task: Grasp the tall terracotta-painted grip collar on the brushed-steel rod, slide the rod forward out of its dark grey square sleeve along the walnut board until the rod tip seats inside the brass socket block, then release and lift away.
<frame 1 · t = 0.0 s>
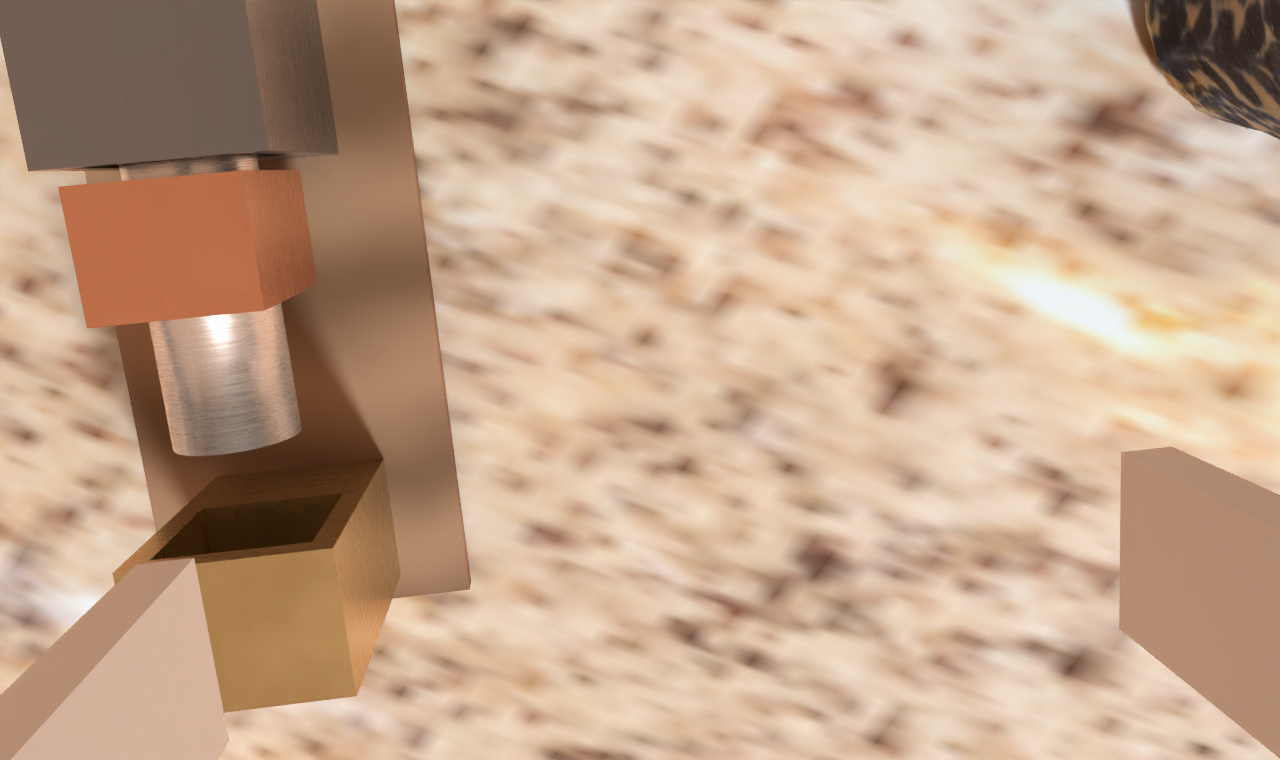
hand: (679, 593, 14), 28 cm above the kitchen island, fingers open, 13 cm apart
rod: (192, 177, 32), point 8 cm above the kitchen island, slide at 0.0 cm
board: (273, 266, 40), on the kitchen island
sleeve: (236, 39, 39), resting on board
socket: (314, 519, 42), resting on board
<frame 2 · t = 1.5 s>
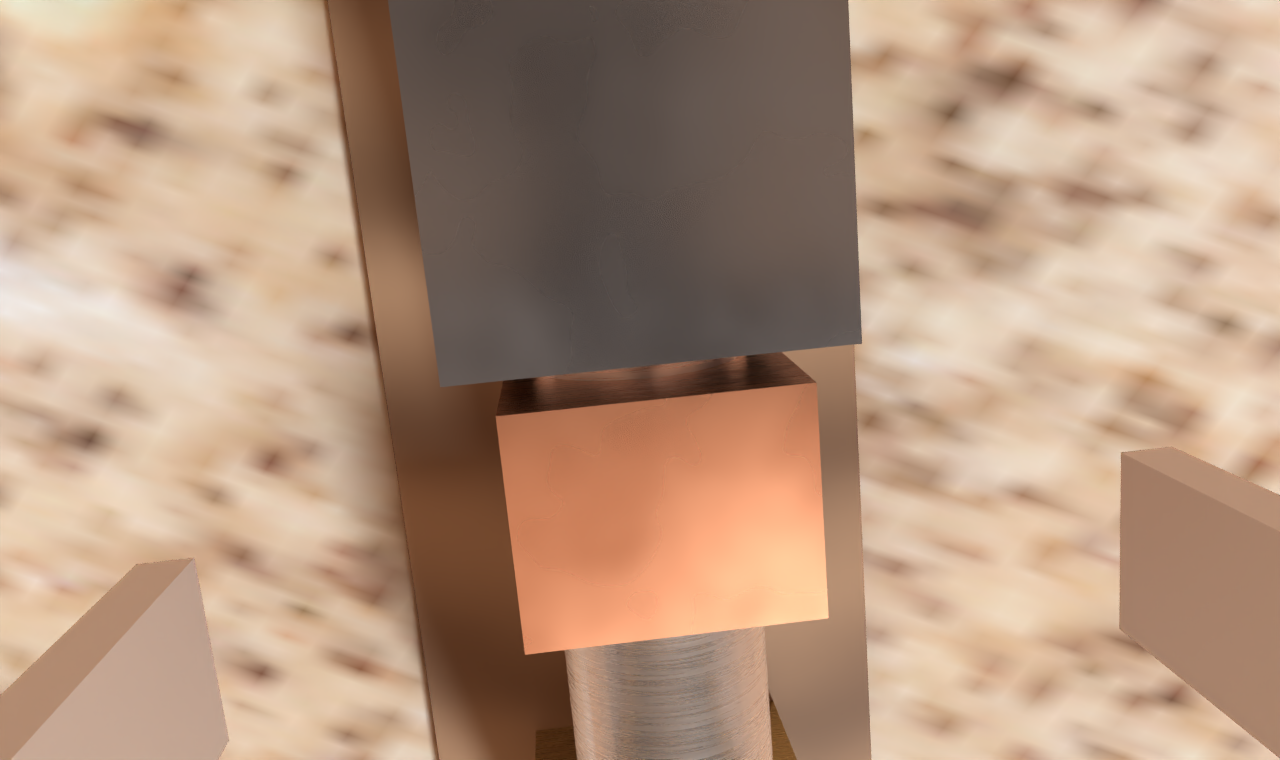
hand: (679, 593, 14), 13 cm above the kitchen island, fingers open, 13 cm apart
rod: (638, 355, 19), point 8 cm above the kitchen island, slide at 0.0 cm
board: (627, 429, 27), on the kitchen island
sleeve: (596, 99, 25), resting on board
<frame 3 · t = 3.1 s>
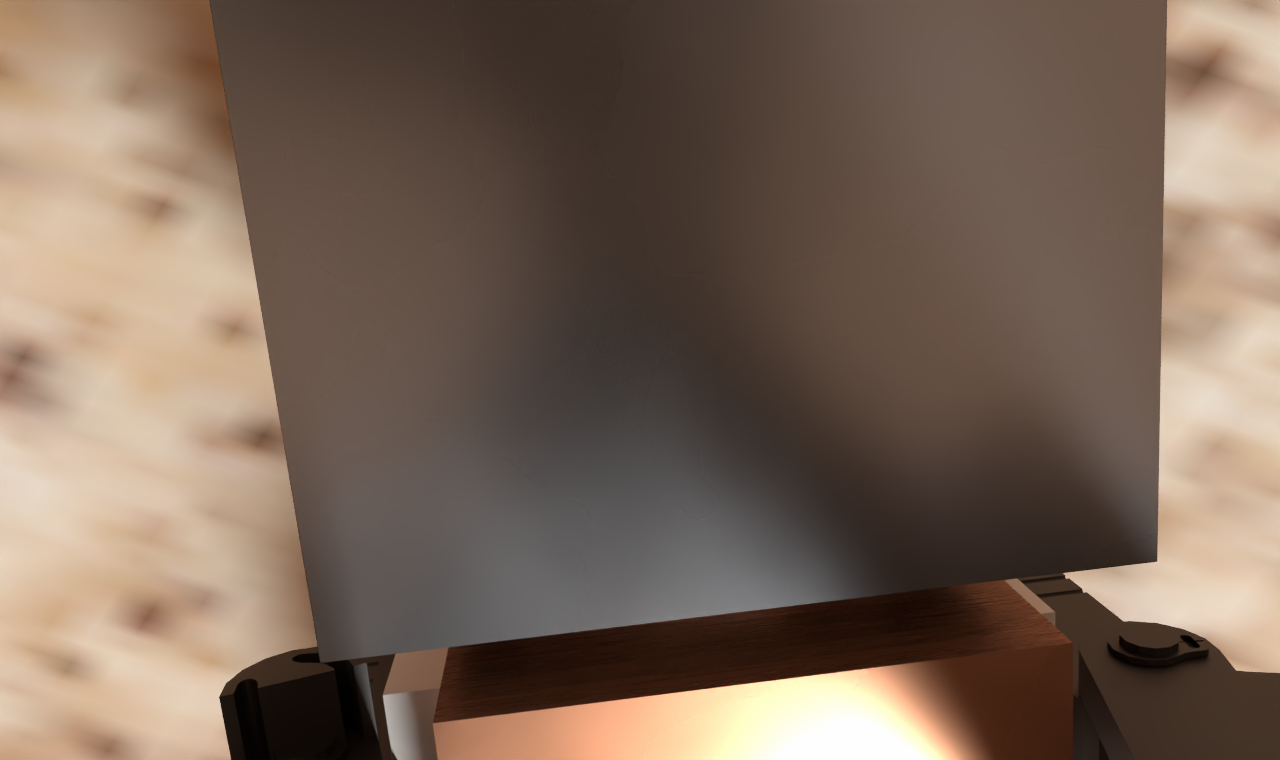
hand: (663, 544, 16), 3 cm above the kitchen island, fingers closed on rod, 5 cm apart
rod: (696, 527, 11), point 8 cm above the kitchen island, slide at 0.0 cm, touching gripper
sleeve: (612, 101, 18), resting on board
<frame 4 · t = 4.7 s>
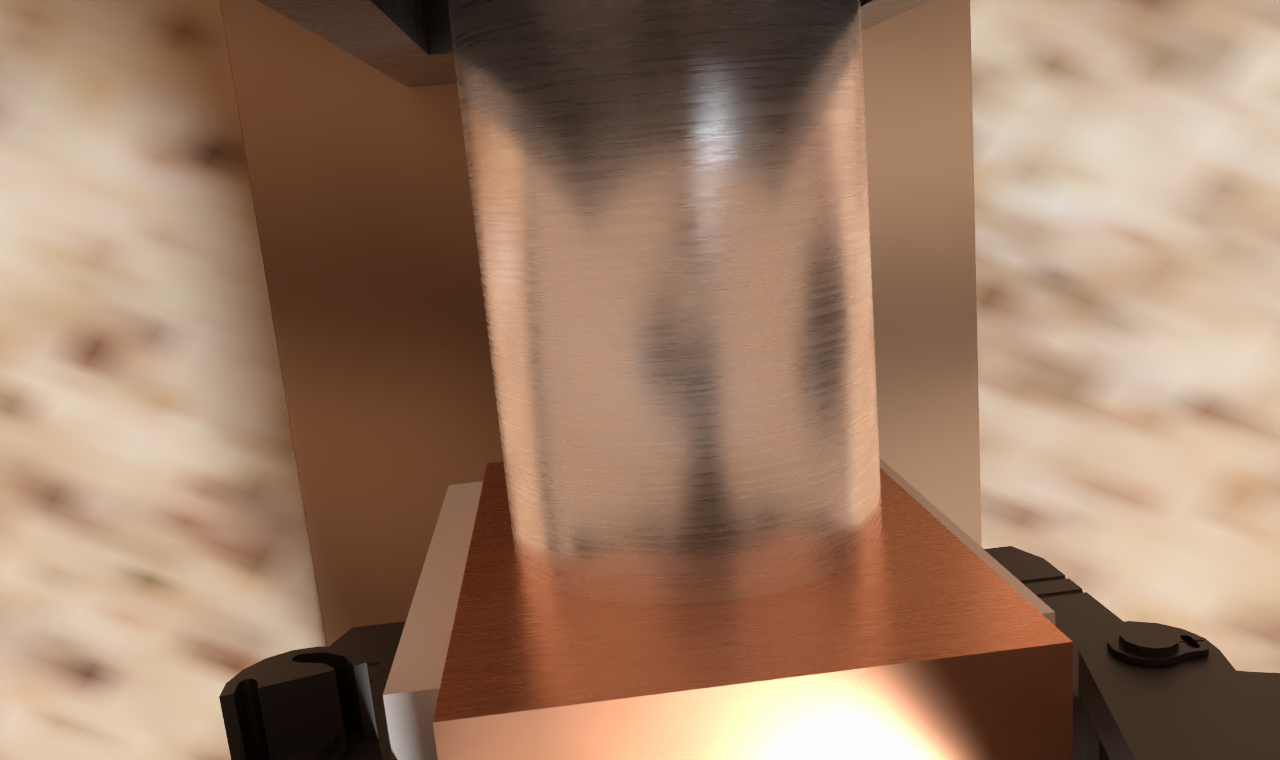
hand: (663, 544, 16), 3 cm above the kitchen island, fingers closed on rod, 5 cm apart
rod: (695, 526, 11), point 8 cm above the kitchen island, slide at 5.0 cm, touching gripper
board: (631, 306, 18), on the kitchen island
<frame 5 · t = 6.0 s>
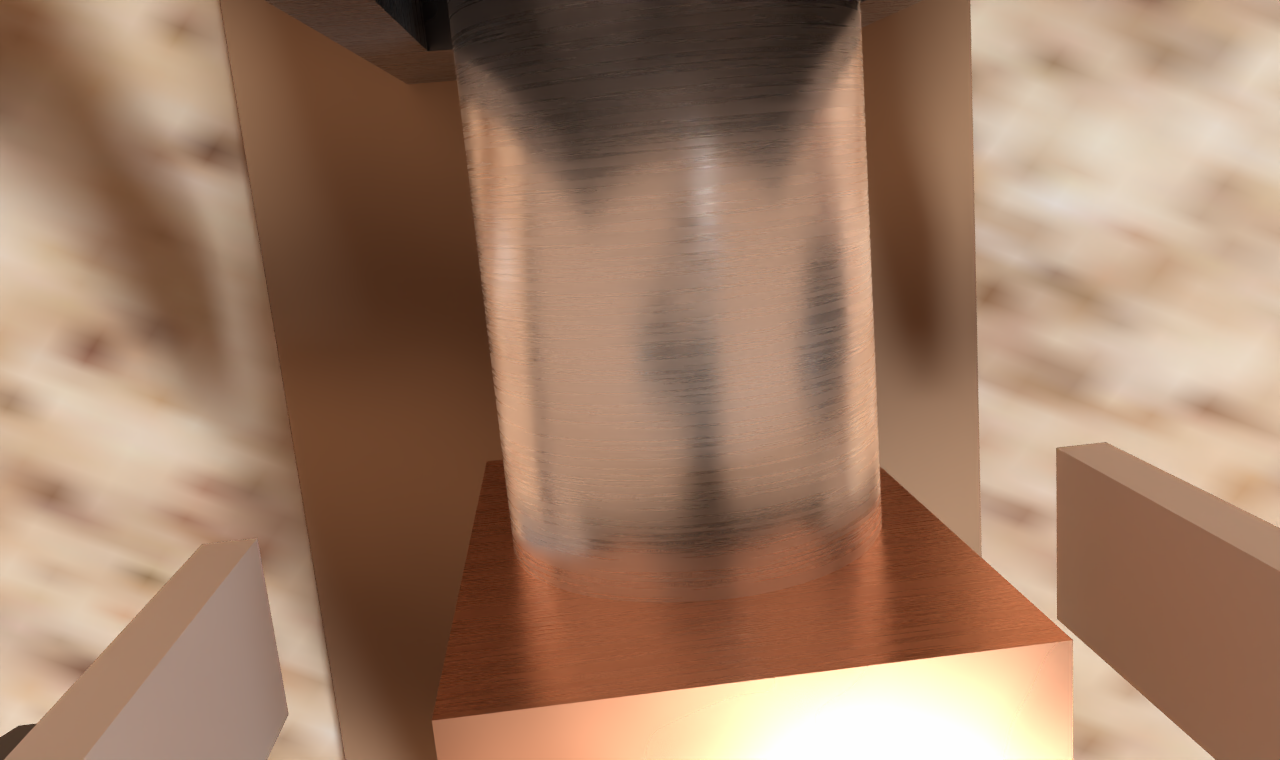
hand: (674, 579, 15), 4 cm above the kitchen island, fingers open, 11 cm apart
rod: (695, 525, 11), point 8 cm above the kitchen island, slide at 5.0 cm
board: (630, 304, 18), on the kitchen island
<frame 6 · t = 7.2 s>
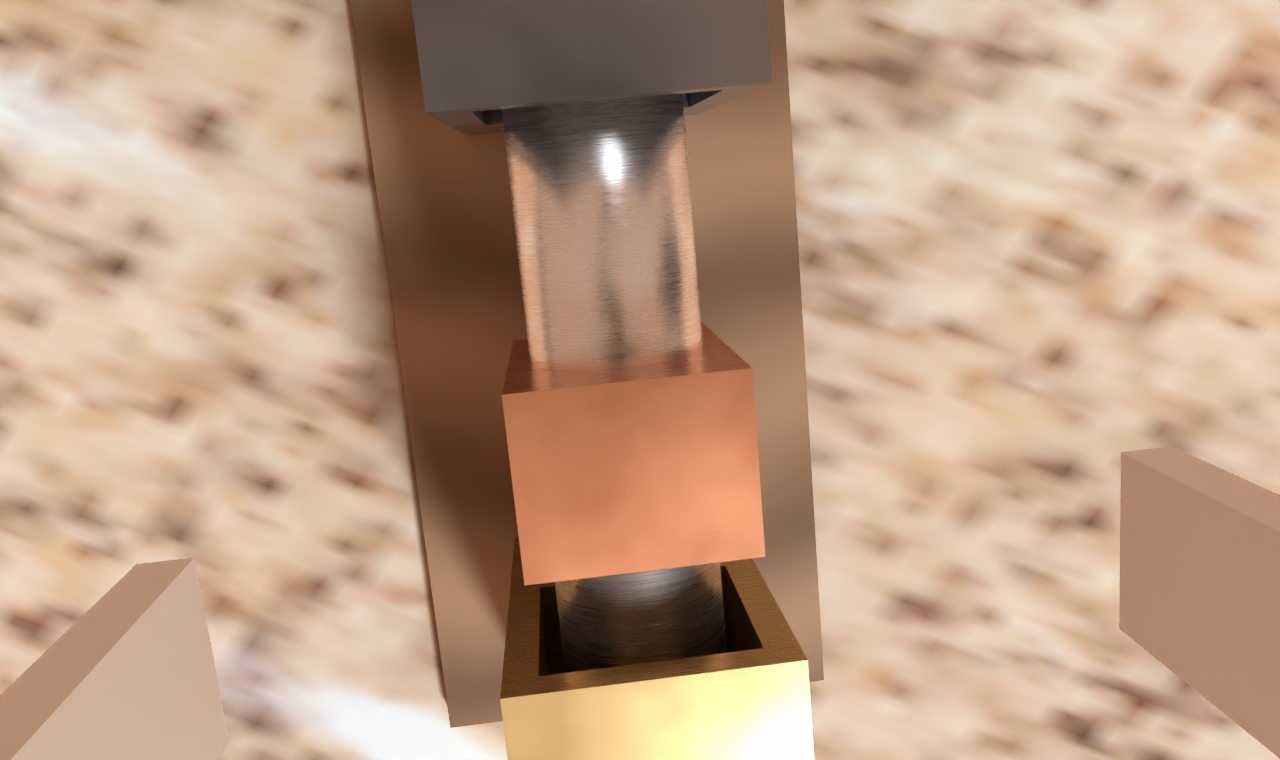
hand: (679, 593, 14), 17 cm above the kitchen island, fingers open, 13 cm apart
rod: (616, 352, 24), point 8 cm above the kitchen island, slide at 5.0 cm
board: (595, 263, 31), on the kitchen island
socket: (627, 591, 33), resting on board
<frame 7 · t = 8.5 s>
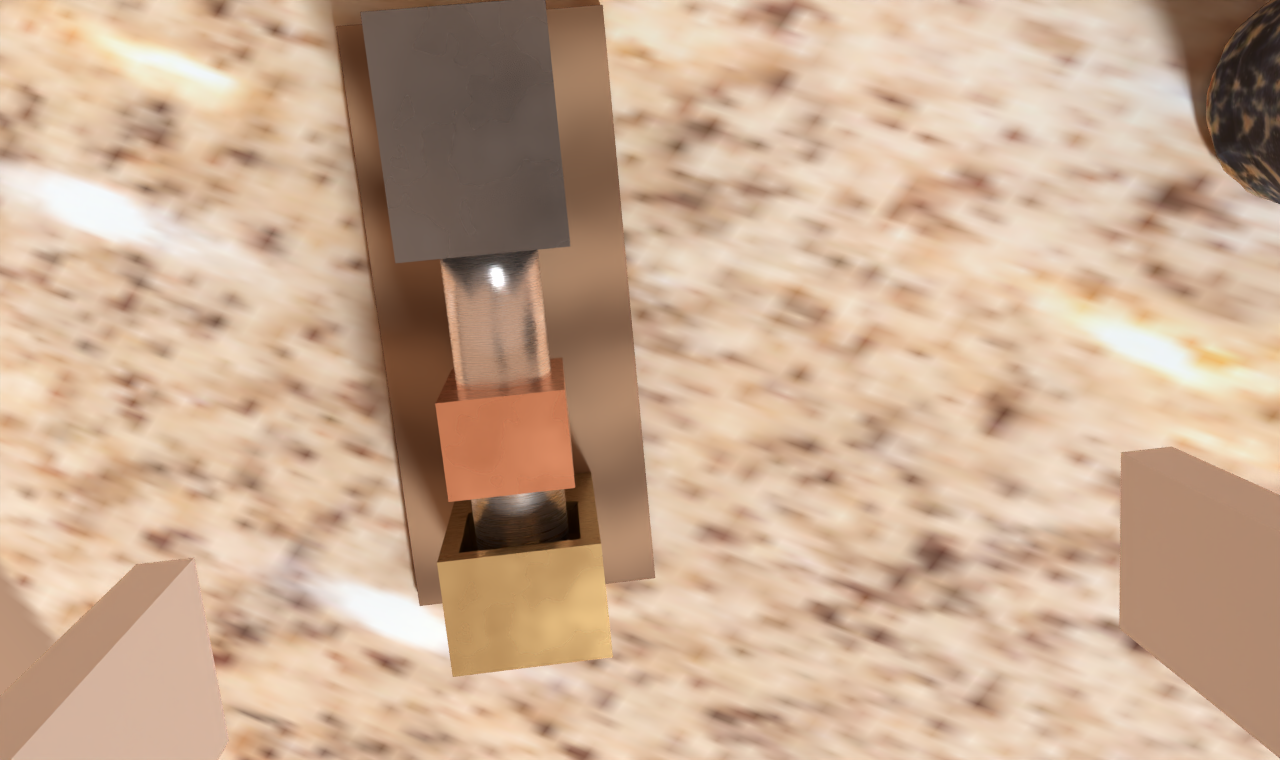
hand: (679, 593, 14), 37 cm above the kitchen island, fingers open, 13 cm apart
rod: (504, 378, 43), point 7 cm above the kitchen island, slide at 5.0 cm
board: (507, 318, 50), on the kitchen island
sleeve: (486, 140, 48), resting on board
socket: (530, 521, 52), resting on board
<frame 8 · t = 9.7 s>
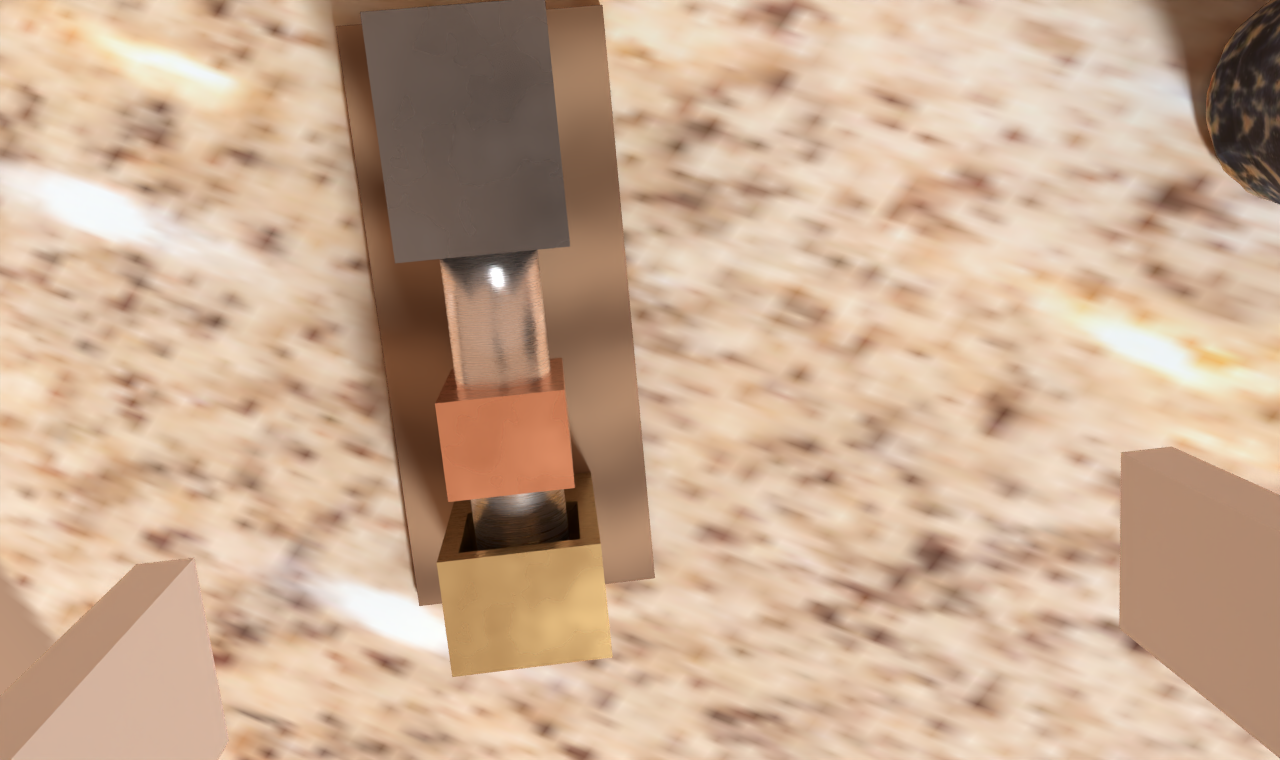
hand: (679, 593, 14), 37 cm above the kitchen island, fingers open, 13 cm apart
rod: (503, 378, 43), point 8 cm above the kitchen island, slide at 5.0 cm
board: (506, 318, 50), on the kitchen island
sleeve: (485, 140, 48), resting on board
socket: (530, 521, 52), resting on board
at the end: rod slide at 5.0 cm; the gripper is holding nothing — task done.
